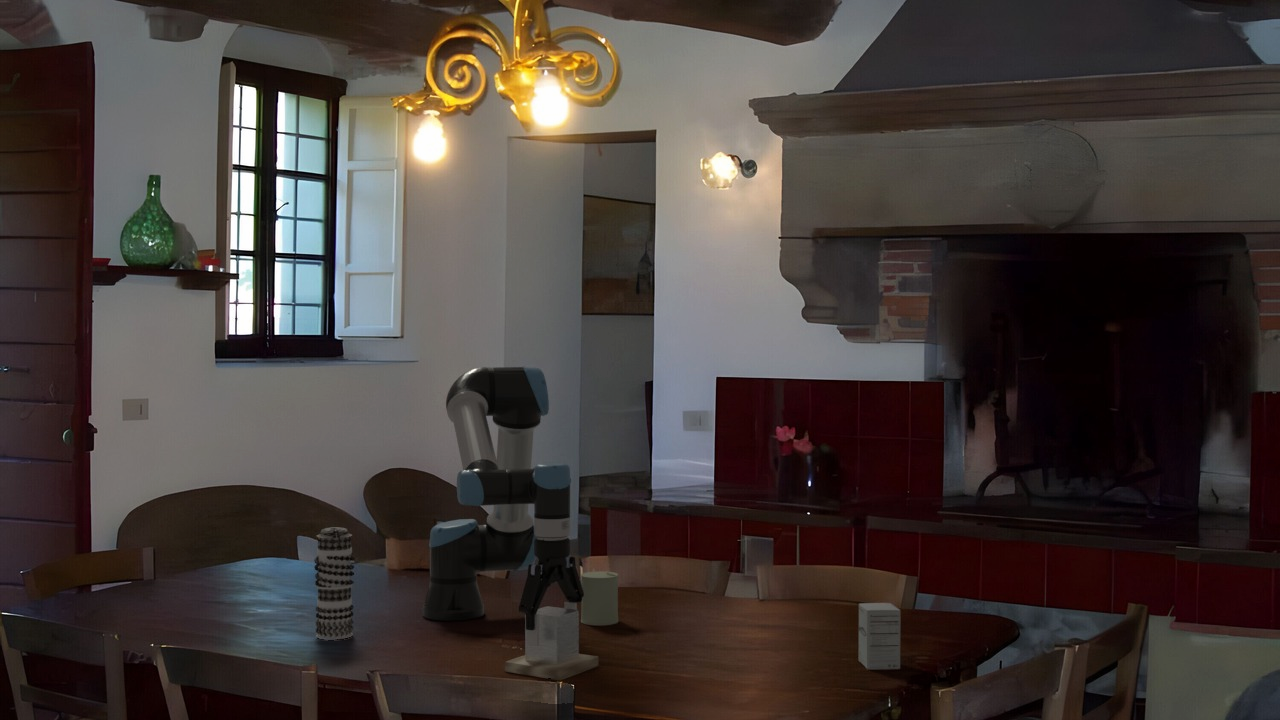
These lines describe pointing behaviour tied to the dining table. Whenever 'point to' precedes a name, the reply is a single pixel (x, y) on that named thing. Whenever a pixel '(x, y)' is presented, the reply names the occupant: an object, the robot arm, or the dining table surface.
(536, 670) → the post board
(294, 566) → the dining table surface
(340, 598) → the white and black cylinder
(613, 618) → the can
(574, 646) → the grey foam block
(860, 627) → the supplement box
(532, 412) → the robot arm
